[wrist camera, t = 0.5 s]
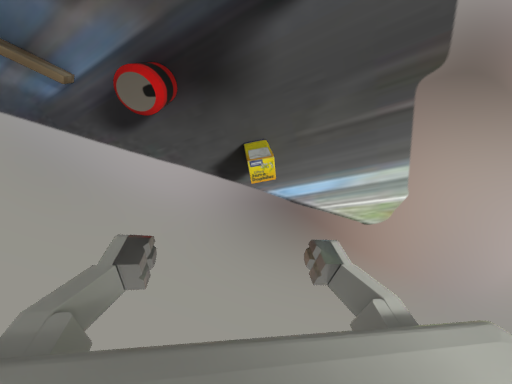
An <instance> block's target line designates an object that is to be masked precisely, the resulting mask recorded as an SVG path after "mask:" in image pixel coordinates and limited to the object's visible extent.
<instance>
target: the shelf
mask: <svg viewBox="0 0 512 384" xmlns="http://www.w3.org/2000/svg"><path fill="white" fill-rule="evenodd" d="M0 55H2V56H4V57H7V58H9V59H11V60H13V61H15V62H17V63H19V64H21V65H24V66H26V67H28V68H30V69H32V70H34V71H36V72H38V73H41V74H43V75H45V76H47V77H49V78H51V79H53V80H55V81H57V82H60V83H62V84H68V83H74V74H71V73H69V72H67V71H65V70H63V69H61V68H59V67H57V66H55V65H53V64H51V63H49V62H47V61H45V60H43V59H41V58H39V57H37V56H35V55H33V54H31V53H29V52H27V51H25V50H23V49H21V48H19V47H17V46H15V45H13V44H11V43H9V42H7V41H5V40H3V39H1V38H0Z"/></svg>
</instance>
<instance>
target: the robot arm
mask: <svg viewBox="0 0 512 384" xmlns="http://www.w3.org/2000/svg"><path fill="white" fill-rule="evenodd" d="M154 242H155V239H154V236H142V235H117V236H116V237H114V239H113V240H112V242H111V244H110V245H109V247H108V248H107V250H106V251H105V253H104V255H103V256H102V258H101V259H100V261H99V263H98V264H97V265H92V266H91V267H90V268H88V269H86V270H85V271H83V272H82V273H80V274H79V275H77V276H76V277H74V278H73V279H71V280H70V281H68V282H67V283H65V284H64V285H62V286H60V287H59V288H58V289H56V290H54V291H53V292H51V293H50V294H48V295H47V296H45V297H44V298H42V299H41V300H39V301H38V302H36V303H35V304H33V305H31V306H30V307H28V308H27V309H26V310H24V311H22V312H21V313H20V314H19V315H18V316H17V317H16V319H15V320H14V321H13V322H12V324H11V325H10V326H9V327H8V328H7V330H6V331H5V332H4V333H3V334H2V336H1V337H0V384H512V334H510V333H509V332H507V331H506V330H504V329H502V328H501V327H499V326H497V325H495V324H494V323H491V322H488V321H468V322H456V323H443V324H430V325H418V323H417V322H416V321H415V319H414V318H413V317H412V315H411V314H410V312H409V311H408V310H407V308H406V307H405V306H404V304H403V303H402V301H401V300H400V298H399V297H398V296H396V295H395V294H394V293H392V292H391V291H390V290H388V289H387V288H386V287H384V286H383V285H382V284H380V283H379V282H378V281H376V280H375V279H374V278H372V277H371V276H370V275H368V274H367V273H366V272H364V271H363V270H362V269H360V268H359V267H358V266H356V265H353V264H352V262H351V261H350V259H349V258H348V256H347V254H346V253H345V251H344V250H343V248H342V246H341V245H340V243H339V242H338V241H337V240H311V241H310V242H309V248H307V249H306V251H305V253H304V261H305V265H306V267H307V268H309V269H310V272H309V275H310V278H311V280H312V283H313V285H328V287H329V288H330V289H331V290H332V291H333V292H334V293H335V294H336V295H337V297H338V298H339V299H340V300H341V301H342V302H343V303H344V304H345V305H346V306H347V307H348V309H349V310H350V311H351V312H352V313H353V314H354V315H355V316H356V318H355V319H354V320H353V321H352V322H351V324H350V326H351V328H352V330H353V331H342V332H328V333H316V334H303V335H291V336H277V337H265V338H252V339H240V340H227V341H214V342H202V343H189V344H176V345H163V346H151V347H138V348H127V349H113V350H101V351H89V350H90V348H91V346H92V342H91V340H90V339H89V337H88V336H87V335H86V333H85V332H84V331H85V330H86V329H87V328H88V327H89V326H90V325H91V324H92V323H93V322H94V321H95V320H96V319H97V318H98V317H99V316H100V315H101V314H102V313H103V312H105V311H106V310H107V309H108V307H110V305H112V303H114V302H115V300H117V299H118V298H119V297H120V296H121V295H122V294H123V293H124V292H125V290H139V289H146V287H147V284H148V281H149V278H150V271H149V270H151V269H152V268H153V267H154V264H155V260H156V247H155V246H154Z"/></svg>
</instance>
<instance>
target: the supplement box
mask: <svg viewBox="0 0 512 384" xmlns="http://www.w3.org/2000/svg"><path fill="white" fill-rule="evenodd" d="M244 148H245V154H246V159H247V164H248V169H249V174H250V179H251V183H252V184H253V183H258V182H263V181H269V180H274V179H276V174H275V163H274V155H273V153H272V151H271V149H270V147H269V145H268V143H267V141H266V139H262V140H258V141H252V142H247V143H244Z"/></svg>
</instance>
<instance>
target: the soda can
mask: <svg viewBox="0 0 512 384" xmlns="http://www.w3.org/2000/svg"><path fill="white" fill-rule="evenodd" d="M113 81H114V89H115V92H116V95H117V96H118V98H119V100H120V101H121V102H122V103H123V104H124V105H125V106H126V107H127V108H128V109H129V110H131V111H133V112H135V113H137V114H140V115H152V114H155V113H157V112H158V111H159V110H161V109H162V108H163V107H164V106H166V105H167V104H168V103H170V102H171V101H172V100H173V99H174V98H175V96H176V93H177V83H176V80H175V78H174V76H173V74H172V73H171V72H170V70H169V69H167V68H166V67H165V66H163V65H162V64H159V63H155V62H147V63H134V64H126V65H123V66H121V67H120V68H119V69H118V70H117V71H116V73H115V75H114V80H113Z"/></svg>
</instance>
